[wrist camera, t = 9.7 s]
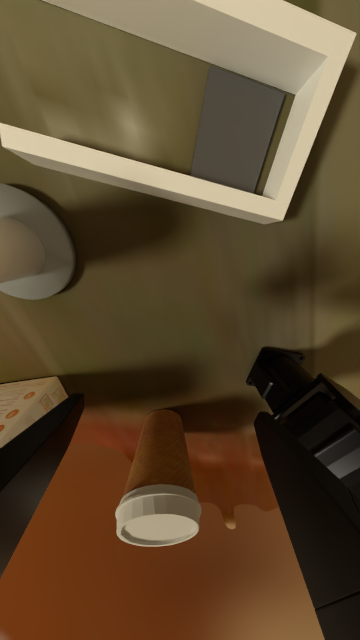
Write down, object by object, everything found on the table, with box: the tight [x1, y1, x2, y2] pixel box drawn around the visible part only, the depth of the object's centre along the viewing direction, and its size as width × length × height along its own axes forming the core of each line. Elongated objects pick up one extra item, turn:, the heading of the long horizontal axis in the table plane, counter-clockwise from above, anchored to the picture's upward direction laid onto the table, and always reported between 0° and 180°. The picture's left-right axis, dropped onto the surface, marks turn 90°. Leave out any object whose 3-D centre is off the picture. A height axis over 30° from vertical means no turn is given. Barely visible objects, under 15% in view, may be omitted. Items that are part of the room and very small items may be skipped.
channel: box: [0, 0, 356, 224], centre depth 12 cm, size 21×10×3 cm, turn 78°
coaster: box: [0, 183, 76, 299], centre depth 16 cm, size 10×10×1 cm
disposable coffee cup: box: [115, 409, 201, 547], centre depth 23 cm, size 10×10×12 cm
